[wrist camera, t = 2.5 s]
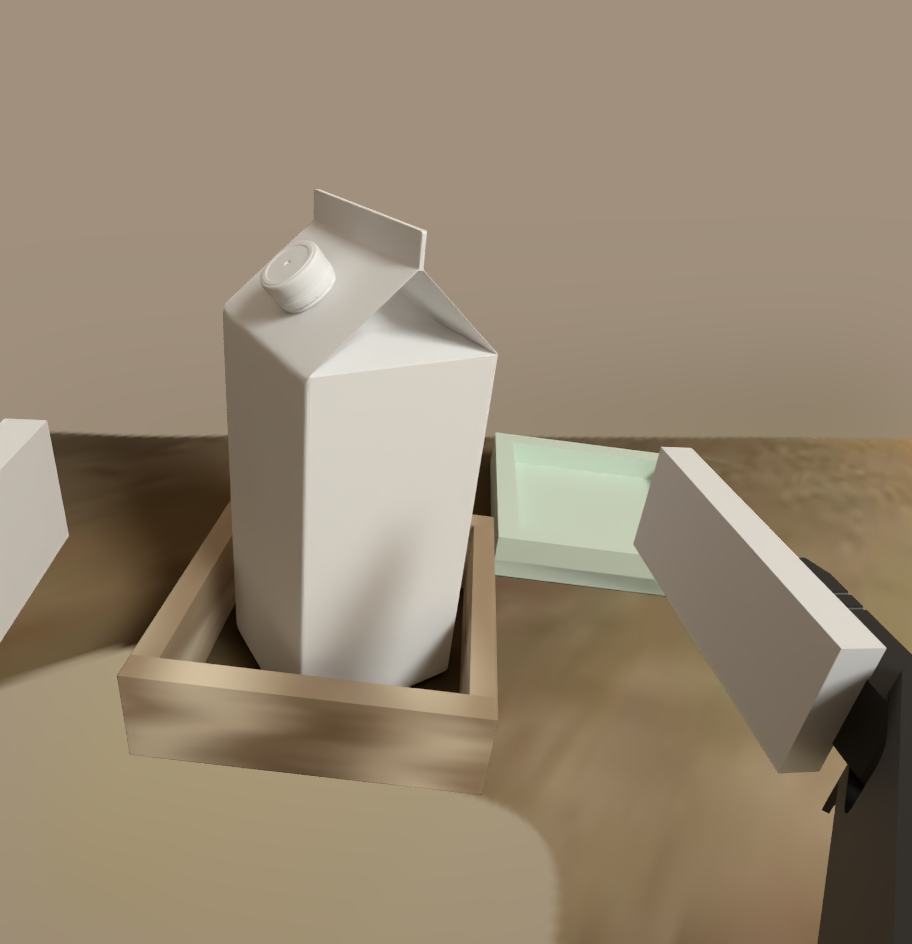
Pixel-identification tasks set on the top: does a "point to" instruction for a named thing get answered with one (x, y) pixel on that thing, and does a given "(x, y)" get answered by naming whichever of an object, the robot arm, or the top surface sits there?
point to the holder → (309, 692)
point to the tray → (570, 512)
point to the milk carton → (352, 451)
